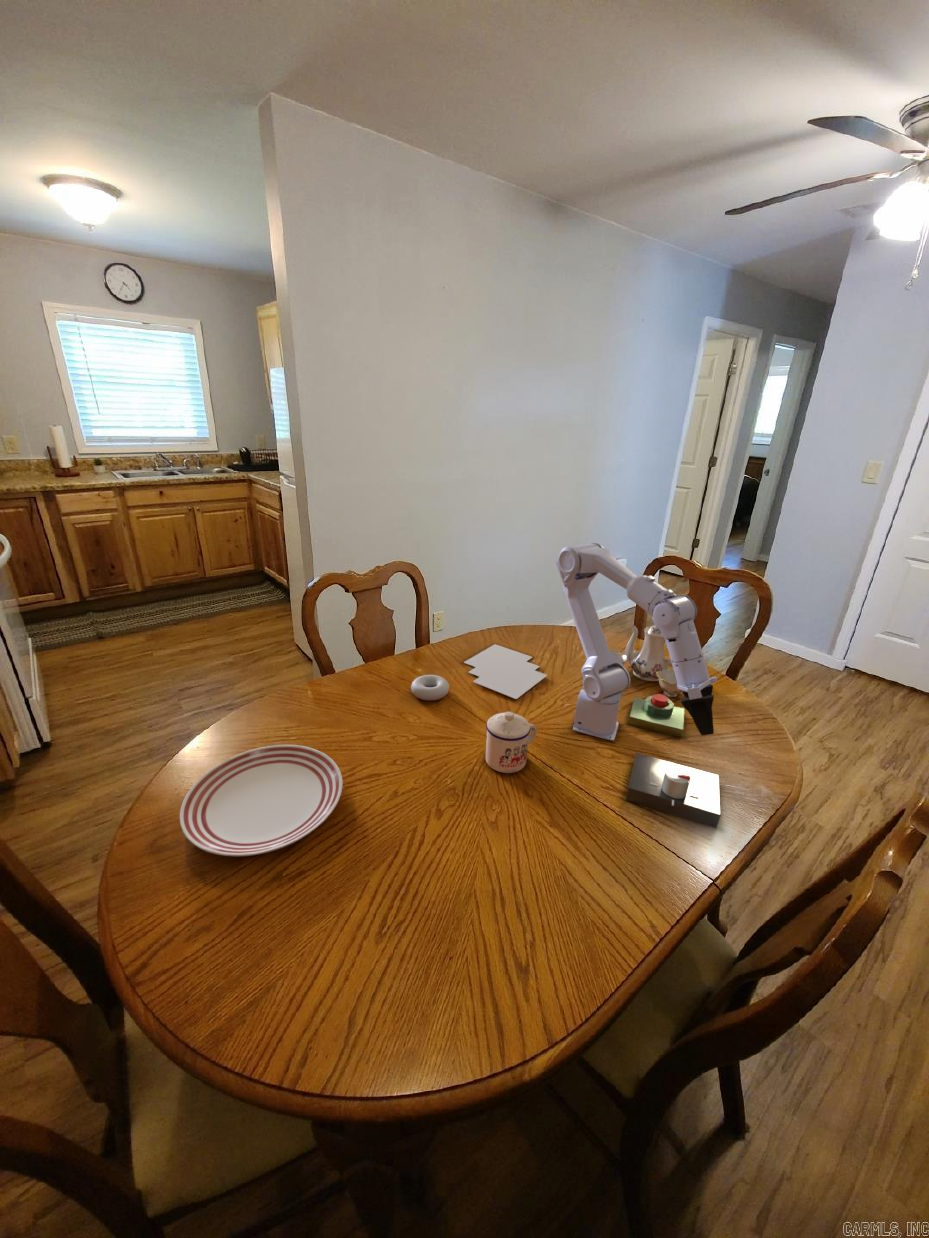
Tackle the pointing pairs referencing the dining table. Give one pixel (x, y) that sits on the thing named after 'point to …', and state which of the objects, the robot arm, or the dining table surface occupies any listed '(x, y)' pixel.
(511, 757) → the teacup with lid
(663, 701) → the button
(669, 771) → the hob knob
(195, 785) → the dinner plate
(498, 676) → the paper stack
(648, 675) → the chinaware
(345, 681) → the dining table surface
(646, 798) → the hob panel
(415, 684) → the donut
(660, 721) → the block
